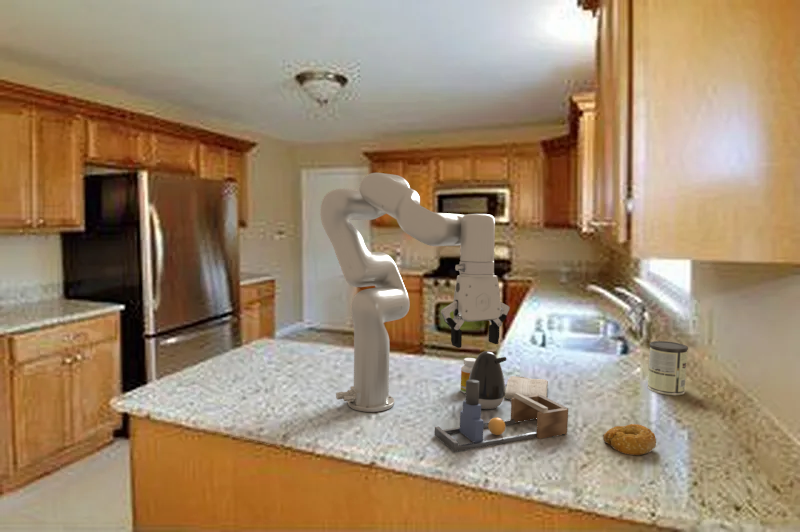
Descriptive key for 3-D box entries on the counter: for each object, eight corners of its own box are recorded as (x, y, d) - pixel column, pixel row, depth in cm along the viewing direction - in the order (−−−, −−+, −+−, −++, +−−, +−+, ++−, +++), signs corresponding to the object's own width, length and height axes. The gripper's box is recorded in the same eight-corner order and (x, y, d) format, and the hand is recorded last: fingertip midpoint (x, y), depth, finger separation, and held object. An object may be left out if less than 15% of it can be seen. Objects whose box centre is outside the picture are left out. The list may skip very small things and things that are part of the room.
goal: (539, 439, 118) (540, 408, 117) (510, 421, 128) (511, 393, 128) (568, 433, 121) (570, 404, 121) (538, 416, 132) (539, 389, 131)
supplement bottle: (478, 395, 147) (479, 362, 146) (459, 393, 148) (460, 361, 147) (479, 389, 152) (480, 357, 152) (461, 388, 154) (462, 356, 153)
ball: (494, 439, 117) (494, 422, 117) (484, 432, 121) (485, 416, 121) (508, 436, 119) (509, 420, 118) (498, 430, 122) (499, 413, 122)
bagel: (612, 433, 122) (613, 414, 122) (661, 448, 115) (663, 427, 114) (595, 446, 115) (596, 425, 115) (646, 462, 108) (648, 440, 107)
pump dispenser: (497, 416, 132) (499, 358, 130) (460, 407, 137) (462, 352, 136) (510, 404, 140) (513, 350, 139) (475, 397, 146) (477, 345, 144)
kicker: (473, 443, 113) (475, 386, 112) (457, 431, 120) (459, 377, 119) (484, 441, 114) (486, 385, 113) (468, 430, 121) (470, 376, 120)
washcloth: (547, 386, 158) (548, 377, 158) (547, 406, 141) (548, 395, 141) (508, 382, 161) (509, 373, 161) (504, 401, 144) (504, 390, 144)
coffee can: (646, 382, 162) (649, 339, 161) (683, 387, 158) (686, 343, 157) (647, 392, 153) (650, 346, 152) (686, 397, 149) (689, 350, 148)
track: (454, 452, 110) (454, 443, 110) (434, 435, 119) (434, 426, 119) (536, 437, 119) (537, 429, 119) (512, 422, 127) (513, 414, 127)
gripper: (450, 271, 107) (449, 351, 108) (519, 269, 114) (517, 345, 115) (434, 269, 114) (433, 344, 115) (499, 267, 121) (498, 338, 122)
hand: (475, 344), depth 115 cm, fingers open, 9 cm apart
